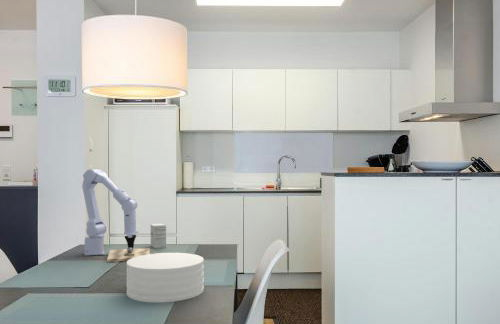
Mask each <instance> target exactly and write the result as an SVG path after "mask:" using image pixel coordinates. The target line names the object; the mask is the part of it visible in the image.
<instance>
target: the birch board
mask: <svg viewBox="0 0 500 324" xmlns="http://www.w3.org/2000/svg"><path fill="white" fill-rule="evenodd" d="M127 249H128V248H123V249H121V248H120V249H110V250H109V252H108V255H107V258H106V263H118V261H124V262H127V261H128V260H129V259H131V258H134V257H138V256H142V255H148V254H151V253H150V247H144V248H143V247H142V248H141V247H140V248H133V252H132V253H128V252H127Z"/></svg>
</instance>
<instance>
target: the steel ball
mask: <svg viewBox="0 0 500 324" xmlns="http://www.w3.org/2000/svg"><path fill="white" fill-rule="evenodd" d="M126 249H127V252H128V253H132V252H133V249H134V247H133V248H132V247H128V246H127V248H126Z"/></svg>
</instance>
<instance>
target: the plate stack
mask: <svg viewBox="0 0 500 324" xmlns="http://www.w3.org/2000/svg"><path fill="white" fill-rule="evenodd" d="M204 261H205V259H204V257H203V256H201V255H199V254H194V253H187V252H161V253H160V252H158V253H157V252H155V253H150V254H148V255H142V256H138V257H134V258H131V259H129V260H128V261H126V296H127V297H128V298H129V299H132V300H135V301H138V302H144V303H168V302H169V303H170V302H171V303H173V302H180V301H185V300H189V299H192V298H195V297H197V296H200V295H201V294H202V293H204V290H205V285H204V284H205V279H204V277H205V272H204V270H205V269H204V268H205V266H204V264H205V262H204Z"/></svg>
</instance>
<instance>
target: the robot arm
mask: <svg viewBox="0 0 500 324" xmlns="http://www.w3.org/2000/svg"><path fill="white" fill-rule="evenodd" d="M82 177H83V180H82V186H81V187H82V191H83V196H84V202H85V207H86V211H87V216H88V220H87V221H86V229H85V231H86V235H87V237H86V236H85V238H84V249H83V250H84V256H95V255H96V256H98V255H105V253H106V251H105V248H104V242H105V239H104V237H105V236H104V235H105V233H106V232H107V227H106V226H107V225H105V224H106V223H104V219H102V217H100V212H99V206H98V202H97V197H96V192H95V187H96V186H97V184H99V183H100V184H102V185H103V186H104V187H106V188H107V190H109V191H110V193H112V197H113V198H114V199H115V201H116V202H118V203H119V205H121V209H122V210H123V220H124V221H123V222H124V223H123V224H124V233H123V234H124V235H125V236H124V238H125V242H126V243H127V248H128V247H132V248H133V249H134V246H135V240H136V237H137V234H138V233H139V230H137V221H136V220H137V218H136V216H137V215H136V209H137V208H138V202H137V201H136V199H134V198H132V197H131V196H130V195H128V194H127V193H126V190H124V189H122V188H118V187H117V186H116V184H114V182H113V181H112V180H111V178H109V177H108V174H107V173H106V172H105V171H104V170H103V169H100V168H97V169H94V168H93V169H87V170H85V172H84V173H83V175H82Z"/></svg>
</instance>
